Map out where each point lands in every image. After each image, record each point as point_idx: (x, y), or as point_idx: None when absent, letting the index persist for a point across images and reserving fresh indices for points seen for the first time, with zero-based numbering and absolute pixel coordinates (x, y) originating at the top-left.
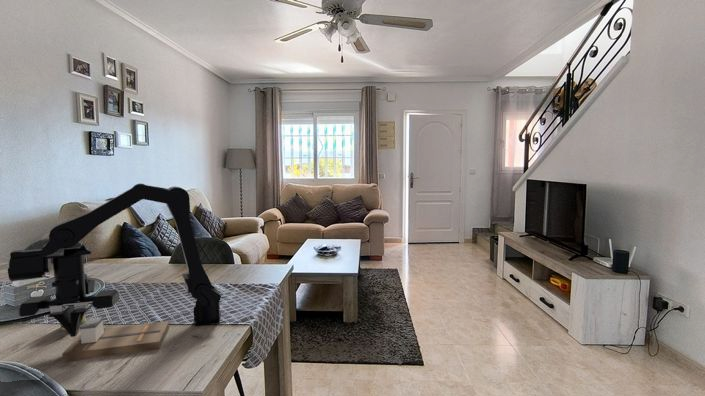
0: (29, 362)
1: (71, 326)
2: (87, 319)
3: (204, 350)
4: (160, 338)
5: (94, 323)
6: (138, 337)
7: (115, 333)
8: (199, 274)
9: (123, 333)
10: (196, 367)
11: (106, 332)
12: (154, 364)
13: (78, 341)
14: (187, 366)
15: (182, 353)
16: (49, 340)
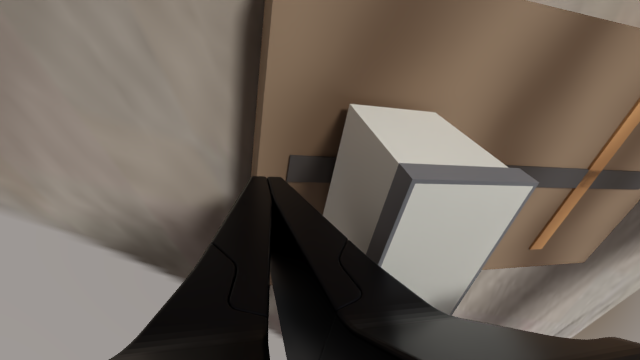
0: (50, 220)
1: (280, 320)
2: (400, 208)
3: (625, 268)
4: (599, 244)
5: (446, 298)
6: (551, 221)
7: (489, 132)
8: None
9: (521, 149)
10: (563, 323)
11: (448, 89)
12: (507, 305)
13: (289, 180)
14: (554, 319)
15: (582, 271)
16: None
